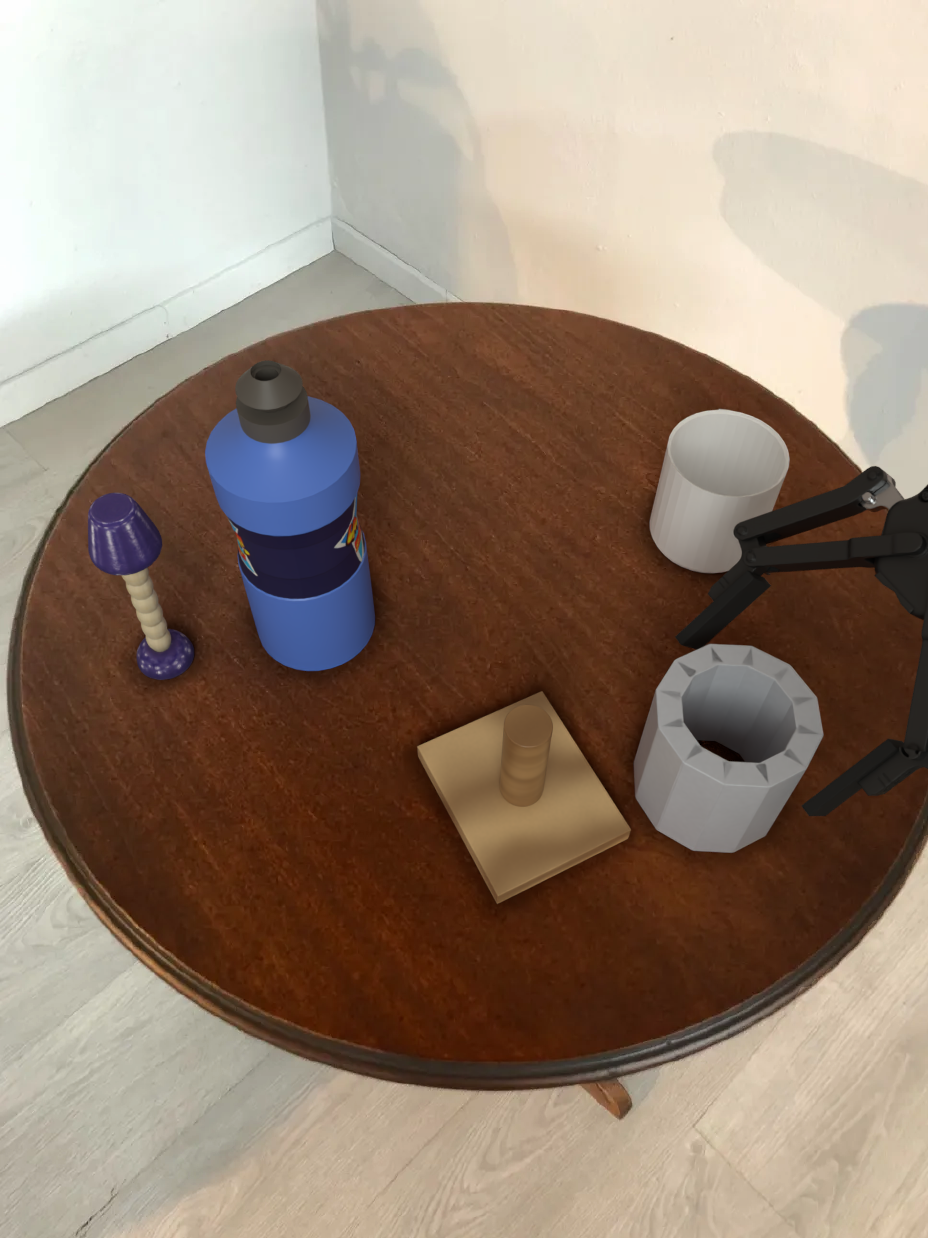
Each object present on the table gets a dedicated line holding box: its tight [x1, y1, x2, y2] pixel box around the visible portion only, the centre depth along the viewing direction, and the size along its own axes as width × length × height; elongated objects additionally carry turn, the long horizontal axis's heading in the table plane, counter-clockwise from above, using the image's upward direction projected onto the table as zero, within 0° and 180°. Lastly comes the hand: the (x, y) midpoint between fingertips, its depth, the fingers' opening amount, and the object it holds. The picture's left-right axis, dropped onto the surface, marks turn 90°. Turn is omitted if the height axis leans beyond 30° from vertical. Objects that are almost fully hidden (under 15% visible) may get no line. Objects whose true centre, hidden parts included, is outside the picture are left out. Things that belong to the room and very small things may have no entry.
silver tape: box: [633, 643, 824, 854], centre depth 66 cm, size 10×10×10 cm
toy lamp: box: [87, 492, 195, 681], centre depth 70 cm, size 5×5×17 cm
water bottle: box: [204, 359, 376, 672], centre depth 68 cm, size 9×9×25 cm
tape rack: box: [416, 691, 632, 905], centre depth 66 cm, size 12×10×10 cm
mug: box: [649, 408, 790, 574], centre depth 81 cm, size 12×9×9 cm
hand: (746, 723), depth 65 cm, fingers open, 13 cm apart
